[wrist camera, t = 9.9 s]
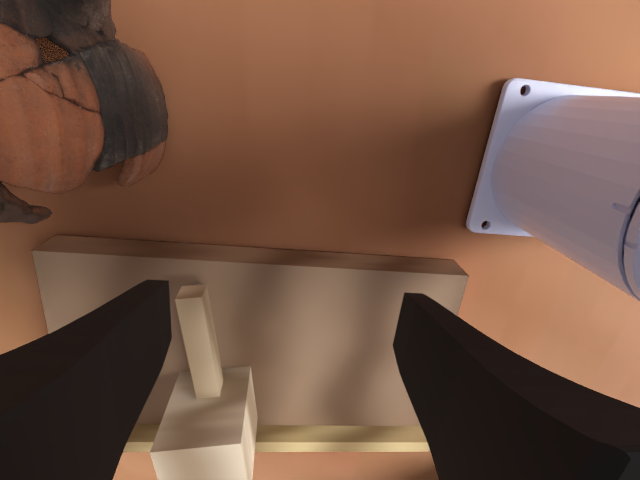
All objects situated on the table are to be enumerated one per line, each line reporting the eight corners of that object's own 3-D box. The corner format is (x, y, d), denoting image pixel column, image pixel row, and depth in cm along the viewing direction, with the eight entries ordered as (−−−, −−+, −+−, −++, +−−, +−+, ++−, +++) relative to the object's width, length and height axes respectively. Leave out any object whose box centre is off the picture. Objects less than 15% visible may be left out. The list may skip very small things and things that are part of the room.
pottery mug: (156, 226, 20) (-27, 296, 13) (43, 126, 22) (-176, 144, 15) (231, -7, 14) (-46, -103, 7) (63, -127, 15) (-304, -303, 8)
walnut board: (453, 260, 22) (482, 289, 19) (412, 411, 27) (430, 457, 23) (55, 234, 19) (9, 264, 16) (86, 408, 24) (54, 458, 21)
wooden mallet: (238, 273, 19) (222, 334, 14) (257, 417, 23) (250, 501, 18) (158, 279, 19) (116, 342, 14) (191, 423, 23) (167, 510, 18)
